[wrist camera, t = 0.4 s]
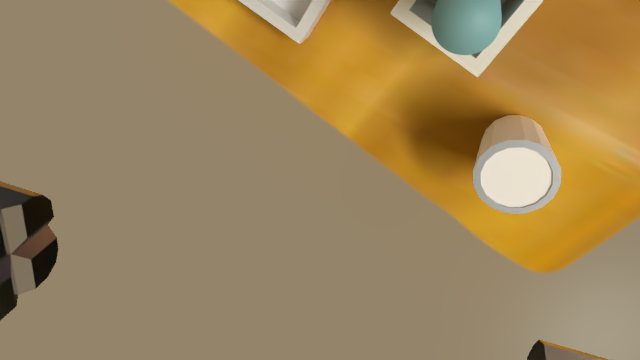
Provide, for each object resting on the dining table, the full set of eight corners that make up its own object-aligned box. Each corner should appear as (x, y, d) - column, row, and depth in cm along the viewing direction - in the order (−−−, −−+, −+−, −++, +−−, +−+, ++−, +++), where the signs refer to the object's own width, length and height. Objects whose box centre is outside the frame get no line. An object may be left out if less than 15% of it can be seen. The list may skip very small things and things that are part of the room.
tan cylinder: (459, 135, 52) (455, 169, 46) (525, 93, 48) (529, 123, 42) (502, 188, 53) (503, 228, 47) (569, 151, 50) (579, 188, 44)
